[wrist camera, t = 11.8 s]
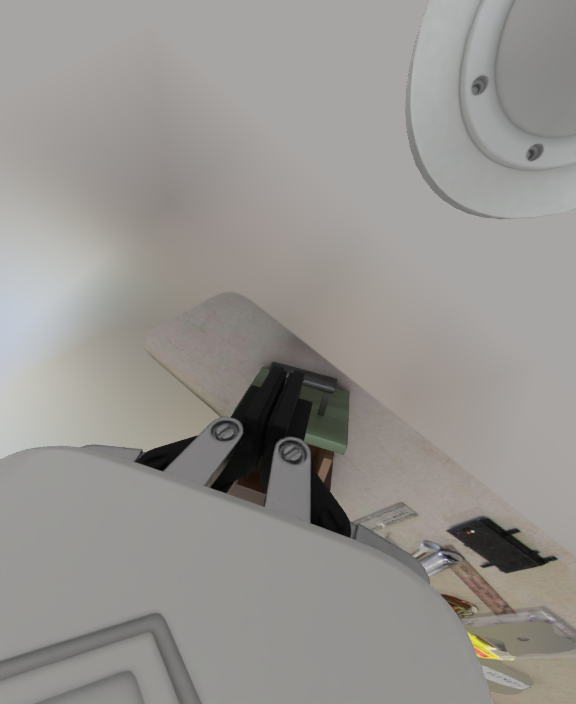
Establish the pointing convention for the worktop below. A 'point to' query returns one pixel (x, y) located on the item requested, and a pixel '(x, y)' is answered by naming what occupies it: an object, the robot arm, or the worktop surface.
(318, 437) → the drawer
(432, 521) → the worktop surface
